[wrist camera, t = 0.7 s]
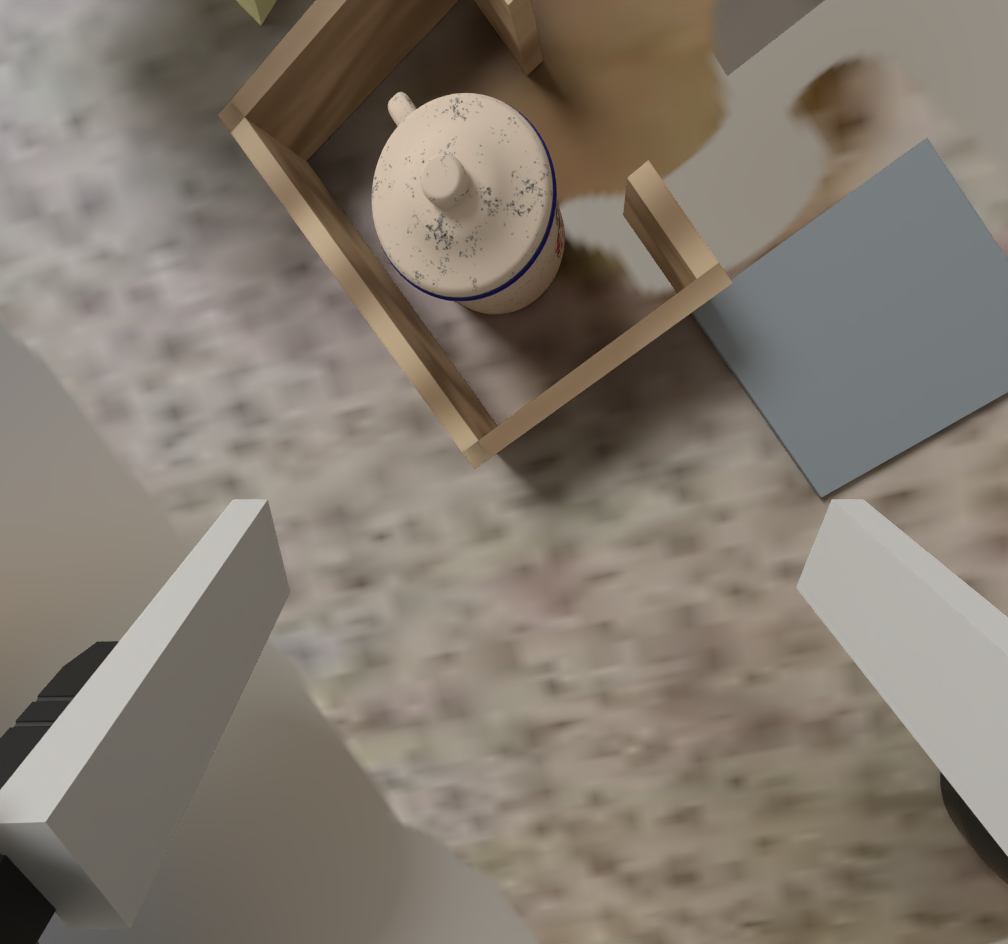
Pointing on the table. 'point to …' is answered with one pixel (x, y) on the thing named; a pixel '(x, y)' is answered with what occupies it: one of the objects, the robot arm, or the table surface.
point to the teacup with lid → (468, 202)
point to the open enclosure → (283, 164)
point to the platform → (752, 26)
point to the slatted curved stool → (258, 8)
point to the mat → (870, 322)
